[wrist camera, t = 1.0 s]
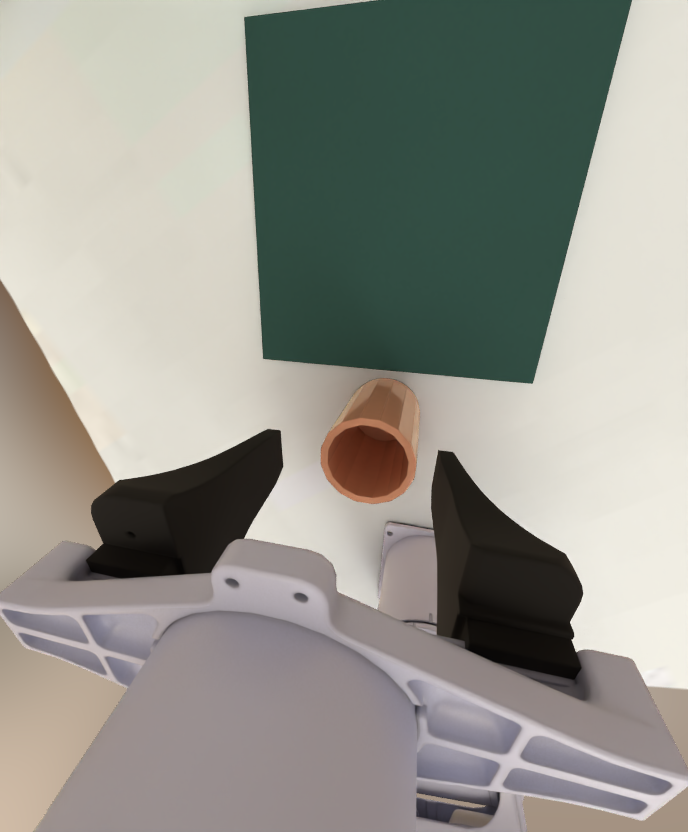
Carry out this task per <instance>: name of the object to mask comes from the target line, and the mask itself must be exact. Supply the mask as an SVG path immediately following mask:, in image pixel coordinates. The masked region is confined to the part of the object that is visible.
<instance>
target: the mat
mask: <svg viewBox="0 0 688 832" xmlns="http://www.w3.org/2000/svg"><path fill="white" fill-rule="evenodd" d="M631 2H632V0H376V1H369V2H361V3H353V4H345V5H337V6H329V7H321V8H313V9H305V10H297V11H289V12H282V13H274V14H266V15H258V16H250V17H244V21H245V39H246V57H247V75H248V93H249V111H250V129H251V147H252V165H253V183H254V201H255V219H256V237H257V255H258V273H259V291H260V309H261V327H262V345H263V359H271V360H281V361H292V362H303V363H314V364H325V365H336V366H347V367H357V368H368V369H379V370H390V371H401V372H412V373H422V374H433V375H444V376H455V377H466V378H477V379H488V380H498V381H509V382H520V383H531V384H532V383H533V381H534V377H535V373H536V369H537V365H538V361H539V358H540V354H541V350H542V346H543V342H544V338H545V334H546V331H547V327H548V323H549V319H550V315H551V311H552V307H553V303H554V300H555V296H556V292H557V288H558V284H559V280H560V276H561V273H562V269H563V265H564V261H565V257H566V253H567V249H568V245H569V242H570V238H571V234H572V230H573V226H574V222H575V218H576V215H577V211H578V207H579V203H580V199H581V195H582V191H583V187H584V184H585V180H586V176H587V172H588V168H589V164H590V160H591V157H592V153H593V149H594V145H595V141H596V137H597V133H598V130H599V126H600V122H601V118H602V114H603V110H604V106H605V102H606V99H607V95H608V91H609V87H610V83H611V79H612V75H613V72H614V68H615V64H616V60H617V56H618V52H619V48H620V44H621V41H622V37H623V33H624V29H625V25H626V21H627V17H628V14H629V10H630V6H631Z"/></svg>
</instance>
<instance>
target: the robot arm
mask: <svg viewBox="0 0 688 832" xmlns="http://www.w3.org/2000/svg"><path fill="white" fill-rule="evenodd" d="M282 468H283V457H282V444H281V431H280V430H272V429H267V430H265V431H263V432H261V433H259V434H257V435H255V436H253V437H251V438H250V439H248V440H246V441H244V442H242V443H240V444H238V445H237V446H235V447H233V448H230V449H228V450H226V451H224V452H222V453H220V454H218V455H216V456H214V457H211V458H209V459H206V460H204V461H201V462H198V463H195V464H192V465H189V466H186V467H183V468H179V469H176V470H172V471H168V472H164V473H160V474H155V475H150V476H145V477H138V478H132V479H125V480H119V481H118V482H116V483H115V484H114V485H113V486H111V487H110V488H109V489H108V490H106V491H105V492H104V493H103V494H101V495H100V496H99V497H98V498H96V499H95V500H94V501H93V503H92V505H91V514H92V517H93V521H94V523H95V525H96V528H97V530H98V532H99V534H100V537H101V539H102V541H103V543H104V544H102V545H101V546H100V547H99V548H98V549H97V550H95V549H93V548H92V547H91V546H88V545H84V544H79V543H75V542H69V541H62V542H61V543H60V544H58V545H57V546H56V547H55V548H54V549H52V550H51V551H50V552H49V553H48V554H46V555H45V556H44V557H43V558H41V559H40V560H39V561H38V562H37V563H36V564H34V565H33V566H32V567H31V568H29V569H28V570H27V571H26V572H25V573H23V574H22V575H21V576H20V577H19V578H17V579H16V580H15V581H14V582H12V583H11V584H10V585H9V586H8V587H7V588H5V589H4V590H3V591H2V592H0V616H1V617H2V618H3V620H4V621H5V622H6V624H7V625H8V626H9V628H10V629H11V630H12V632H13V633H14V634H15V636H16V637H17V639H18V640H19V641H20V643H21V644H22V645H23V647H24V648H27V649H30V650H34V651H37V652H40V653H43V654H47V655H49V656H52V657H55V658H58V659H60V660H63V661H66V662H69V663H71V664H73V665H76V666H78V667H80V668H83V669H85V670H87V671H90V672H92V673H94V674H96V675H99V676H101V677H103V678H105V679H108V680H110V681H112V682H114V683H116V684H119V685H121V686H123V687H125V688H127V690H126V692H125V693H124V695H123V696H122V698H121V699H120V701H119V702H118V704H117V705H116V707H115V709H114V710H113V712H112V713H111V715H110V716H109V718H108V719H107V721H106V722H105V724H104V725H103V727H102V728H101V730H100V731H99V733H98V734H97V736H96V737H95V739H94V740H93V742H92V743H91V745H90V746H89V748H88V749H87V751H86V753H85V754H84V755H83V757H82V758H81V760H80V761H79V763H78V764H77V766H76V767H75V769H74V770H73V772H72V774H71V775H70V777H69V778H68V780H67V781H66V783H65V784H64V786H63V787H62V789H61V790H60V792H59V793H58V795H57V796H56V798H55V799H54V801H53V802H52V804H51V805H50V807H49V808H48V810H47V811H46V813H45V814H44V816H43V818H42V819H41V820H40V822H39V823H38V825H37V826H36V828H35V830H34V831H33V832H527V827H526V821H525V815H524V809H523V804H522V801H523V800H524V795H525V796H531V797H537V798H543V799H549V800H554V801H561V802H566V803H571V804H575V805H580V806H585V807H589V808H594V809H599V810H603V811H607V812H611V813H614V814H618V815H622V816H626V817H630V818H634V819H637V820H642V821H643V820H645V819H646V818H648V817H649V816H650V815H652V814H653V813H654V812H655V811H657V810H658V809H659V808H661V807H662V806H663V805H665V804H666V803H667V802H668V801H670V800H671V799H672V798H674V797H675V796H676V795H678V794H679V793H680V792H682V791H683V790H684V789H685V788H687V787H688V768H687V766H686V764H685V762H684V760H683V758H682V756H681V754H680V752H679V750H678V748H677V746H676V744H675V742H674V740H673V738H672V736H671V734H670V732H669V730H668V728H667V726H666V724H665V722H664V720H663V719H662V716H661V714H660V712H659V710H658V709H657V706H656V704H655V702H654V700H653V698H652V696H651V694H650V692H649V690H648V689H647V686H646V684H645V683H644V681H643V679H642V677H641V675H640V673H639V671H638V669H637V667H636V665H635V663H634V661H633V660H632V659H630V658H628V657H623V656H618V655H613V654H608V653H604V652H599V651H594V650H581V651H578V652H577V653H576V651H575V649H574V646H573V643H572V641H571V639H573V638H574V632H573V629H572V627H571V624H570V621H571V619H572V617H573V615H574V613H575V611H576V610H577V608H578V606H579V604H580V602H581V599H582V596H583V590H582V585H581V583H580V580H579V578H578V576H577V574H576V572H575V570H574V568H573V566H572V564H571V563H570V561H569V559H568V558H567V556H566V554H565V553H563V552H561V551H559V550H558V549H556V548H554V547H552V546H551V545H549V544H547V543H545V542H543V541H542V540H540V539H539V538H537V537H535V536H534V535H532V534H531V533H529V532H528V531H526V530H525V529H524V528H522V527H521V526H519V525H518V524H517V523H515V522H514V521H513V520H512V519H510V518H509V517H508V516H507V515H505V514H504V513H503V512H502V511H501V510H500V509H499V508H498V507H497V506H495V505H494V504H493V503H492V502H491V501H490V500H489V499H488V498H487V497H486V496H485V495H484V493H483V492H482V491H481V490H480V489H479V488H478V486H477V485H476V484H475V483H474V481H473V480H472V479H471V477H470V476H469V475H468V473H467V472H466V471H465V469H464V468H463V466H462V465H461V463H460V462H459V460H458V459H457V457H456V455H455V454H454V453H453V452H448V451H440V450H438V455H437V460H436V466H435V472H434V477H433V483H432V494H431V510H432V519H433V528H434V530H430V529H425V528H419V527H414V526H408V525H403V524H397V523H392V522H389V523H387V524H386V525H385V531H384V541H383V551H382V560H381V570H380V580H379V590H378V598H379V599H380V601H379V607H378V610H377V609H374V608H372V607H370V606H368V605H365V604H363V603H361V602H359V601H357V600H354V599H352V598H350V597H348V596H345V595H343V594H341V593H339V592H338V591H337V588H336V573H335V570H334V567H333V565H332V564H331V563H330V562H329V561H328V560H327V559H326V558H325V557H324V556H323V555H321V554H319V553H316V552H313V551H311V550H307V549H302V548H296V547H291V546H286V545H280V544H275V543H270V542H264V541H259V540H253V539H244V537H245V535H246V533H247V531H248V529H249V527H250V525H251V524H252V522H253V520H254V518H255V517H256V515H257V514H258V512H259V510H260V509H261V507H262V506H263V504H264V502H265V501H266V499H267V498H268V496H269V494H270V493H271V491H272V489H273V488H274V486H275V484H276V482H277V480H278V478H279V476H280V473H281V471H282ZM389 531H390V532H392V533H388V532H389ZM416 793H419V794H425V795H431V796H436V797H442V798H447V799H453V800H458V801H464V802H470V803H475V804H481V805H486V806H485V807H477V808H471V807H466V806H461V805H455V804H450V803H444V802H439V801H433V800H428V799H422V798H417V797H416Z"/></svg>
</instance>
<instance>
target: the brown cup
mask: <svg viewBox="0 0 688 832" xmlns="http://www.w3.org/2000/svg"><path fill="white" fill-rule="evenodd" d="M419 420H420V410H419V404H418V401H417V398H416V396H415V395H414V393H413V392H412V391H411V390H410V389H409V388H408V387H407V386H406V385H404V384H403V383H401V382H399V381H397V380H393V379H388V378H379V379H374V380H371V381H369V382H367V383H365V384H364V385H362V386H361V387H360V388H359V389H358V390H357V391H356V392H355V393H354V395H353V396H352V398H351V399H350V401H349V402H348V404H347V405H346V407H345V409H344V410H343V412H342V413H341V415H340V416H339V418H338V419H337V421H336V422H335V424H334V425H333V427H332V428H331V430H330V431H329V433H328V434H327V436H326V438H325V440H324V442H323V444H322V447H321V466H322V468H323V471H324V473H325V476H326V478H327V479H328V481H329V482H330V483H331V484H332V485H333V486H334V488H335V489H336V490H337V491H338V492H340V493H341V494H343V495H345V496H347V497H348V498H350V499H352V500H354V501H357V502H363V503H369V504H377V503H383V502H389V501H392V500H393V499H395V498H396V497H398V496H400V495H401V494H403V493H404V492H406V490H407V489H408V487H409V486H410V484H411V483H412V481H413V480H414V478H415V471H416V464H417V450H418V435H419Z"/></svg>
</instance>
